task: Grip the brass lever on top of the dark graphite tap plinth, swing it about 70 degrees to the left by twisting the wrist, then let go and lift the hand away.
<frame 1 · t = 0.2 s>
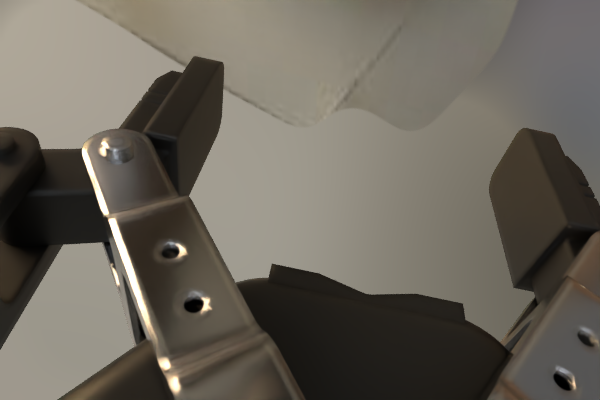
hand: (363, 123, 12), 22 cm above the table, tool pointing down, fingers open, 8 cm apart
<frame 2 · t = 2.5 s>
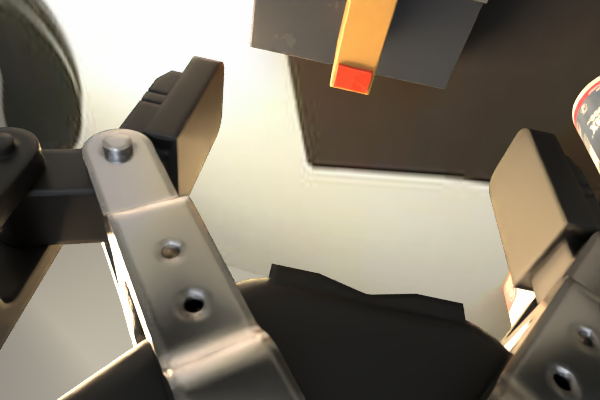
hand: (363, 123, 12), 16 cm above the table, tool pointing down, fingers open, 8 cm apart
ink cartridge box: (545, 256, 38), on the table
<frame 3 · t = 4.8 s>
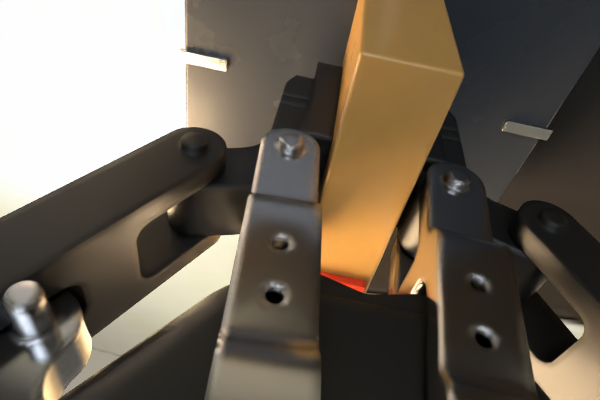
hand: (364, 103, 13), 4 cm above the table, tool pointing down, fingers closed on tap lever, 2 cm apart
tap lever: (363, 146, 12), point 6 cm above the table, hinge at 0.0°, touching gripper
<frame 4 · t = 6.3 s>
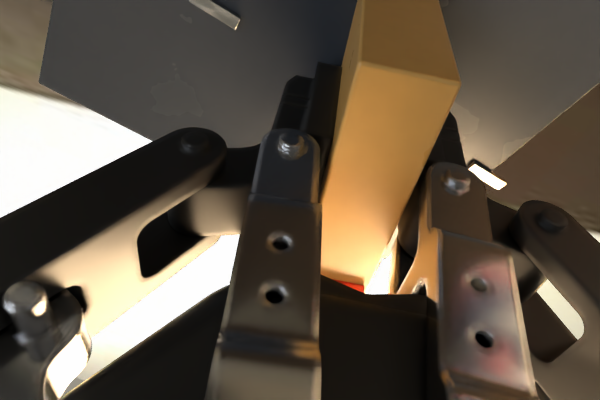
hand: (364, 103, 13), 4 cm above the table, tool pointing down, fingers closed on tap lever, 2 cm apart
tap lever: (361, 152, 12), point 6 cm above the table, hinge at -69.0°, touching gripper
tap plinth: (318, 18, 16), on the table
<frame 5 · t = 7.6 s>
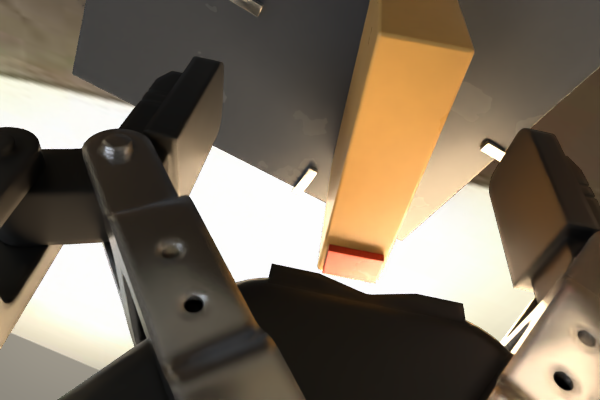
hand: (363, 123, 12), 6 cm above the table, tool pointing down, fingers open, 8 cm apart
tap lever: (379, 128, 12), point 6 cm above the table, hinge at -69.0°
tap plinth: (335, 7, 16), on the table
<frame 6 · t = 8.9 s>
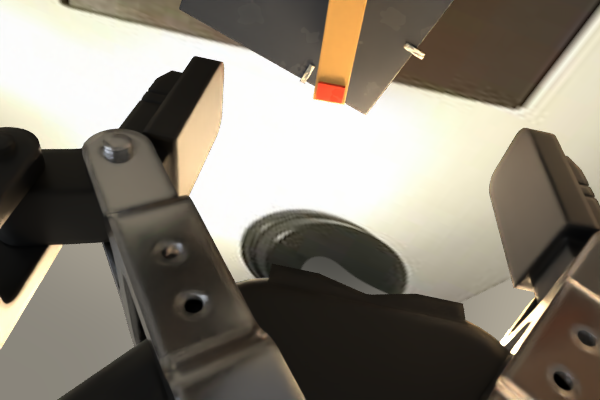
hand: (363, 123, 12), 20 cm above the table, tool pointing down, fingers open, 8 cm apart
tap lever: (343, 25, 25), point 6 cm above the table, hinge at -69.0°
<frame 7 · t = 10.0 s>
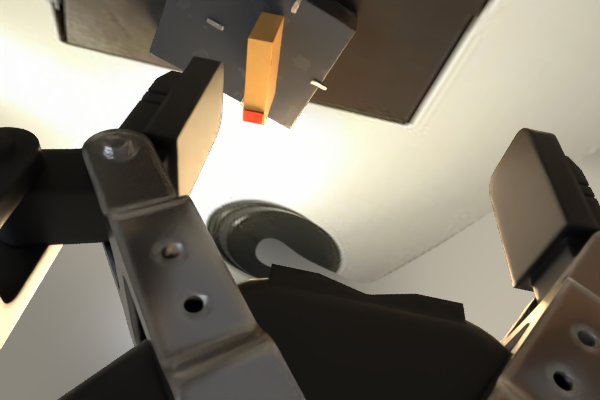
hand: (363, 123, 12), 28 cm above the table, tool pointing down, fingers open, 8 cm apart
tap lever: (262, 69, 36), point 6 cm above the table, hinge at -69.0°
tap plinth: (256, 25, 40), on the table
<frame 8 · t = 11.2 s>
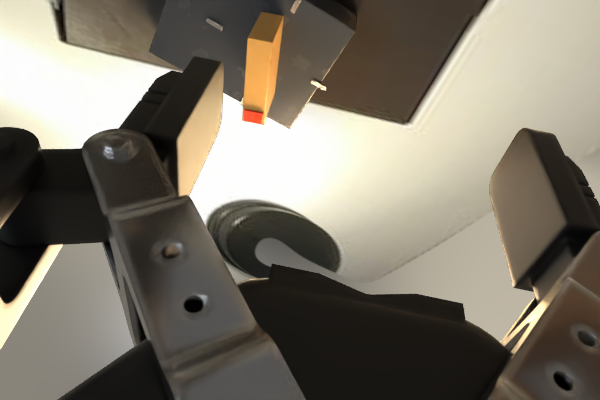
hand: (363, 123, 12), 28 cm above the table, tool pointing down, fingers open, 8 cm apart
tap lever: (262, 69, 36), point 6 cm above the table, hinge at -69.0°
tap plinth: (255, 25, 40), on the table
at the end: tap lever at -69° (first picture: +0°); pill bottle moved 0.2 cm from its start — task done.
